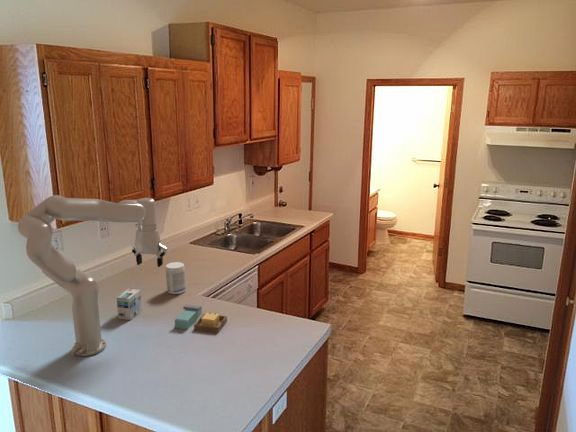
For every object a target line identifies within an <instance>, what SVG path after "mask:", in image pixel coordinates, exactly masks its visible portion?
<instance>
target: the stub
mask: <svg viewBox="0 0 576 432" xmlns="http://www.w3.org/2000/svg"><path fill="white" fill-rule="evenodd" d="M204 314H205V315H204V316H203V317H202V318H201V319H202V325H205V326H214V327H216V326H217V324H218V323H219V315H220V314H219V313H213V312H206V313H204Z"/></svg>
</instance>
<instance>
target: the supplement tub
mask: <svg viewBox="0 0 576 432" xmlns="http://www.w3.org/2000/svg"><path fill="white" fill-rule="evenodd" d="M165 276H166V291H167V293H168V294H170V295H180V294H183V293H184V292H186V290H187V287H186V284H187V283H186V269H185V264H184V263H183V262H180V261H175V262H174V261H173V262H169V263H168V264H166V265H165Z"/></svg>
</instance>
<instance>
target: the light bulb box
mask: <svg viewBox="0 0 576 432" xmlns="http://www.w3.org/2000/svg"><path fill="white" fill-rule="evenodd" d="M142 304H143V303H142V292H141V289H135V288H133V289H132V288H127V289H126V290H124V291H123V292H122V293H120V295H118V296H117V297H116V305H117V317H118V319H120V320H128V321H132V320H133V319H134V318H136V316H137V315H139V314H140V313H141V312H142V311H143V305H142Z"/></svg>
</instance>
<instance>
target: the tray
mask: <svg viewBox="0 0 576 432" xmlns="http://www.w3.org/2000/svg"><path fill="white" fill-rule="evenodd" d="M205 314H206V313H202V314H201V315H200V316H199V318H198V319H197V320H196V321H195V322H194V323H193V330H194V331H200V332H208V333H216V334H219V333H220V331H221V330H222V329H223V327H224V326H225V324H227V322H228V316H227V315H221V314H219V323H218V324H217V326H216V327H214V326H205V325H202V319H201V318H202V317H203V316H204V315H205Z"/></svg>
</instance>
